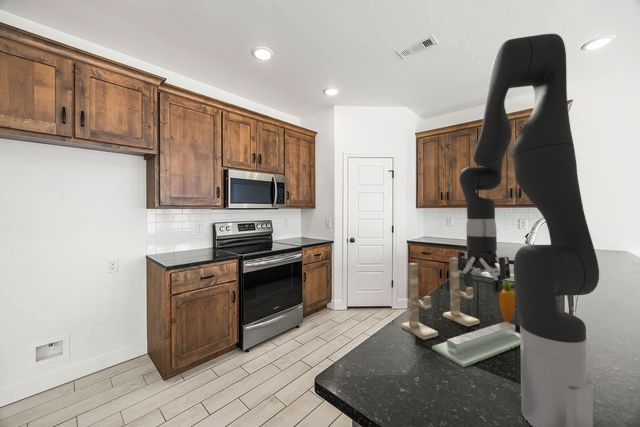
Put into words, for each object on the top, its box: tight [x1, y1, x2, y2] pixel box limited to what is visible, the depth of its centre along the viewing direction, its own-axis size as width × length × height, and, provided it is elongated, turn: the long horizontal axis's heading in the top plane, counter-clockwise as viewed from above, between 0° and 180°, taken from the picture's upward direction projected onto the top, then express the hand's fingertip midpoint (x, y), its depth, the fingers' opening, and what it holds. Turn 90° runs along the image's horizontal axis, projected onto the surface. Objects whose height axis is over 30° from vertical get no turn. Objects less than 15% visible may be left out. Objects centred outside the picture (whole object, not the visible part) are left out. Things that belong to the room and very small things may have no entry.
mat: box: [431, 331, 520, 368], centre depth 78 cm, size 10×30×1 cm, turn 114°
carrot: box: [498, 279, 516, 323], centre depth 92 cm, size 5×5×15 cm
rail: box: [446, 321, 516, 355], centre depth 78 cm, size 3×26×3 cm, turn 114°
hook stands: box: [400, 257, 480, 341], centre depth 91 cm, size 10×26×22 cm, turn 114°
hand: (482, 289), depth 78 cm, fingers open, 8 cm apart
